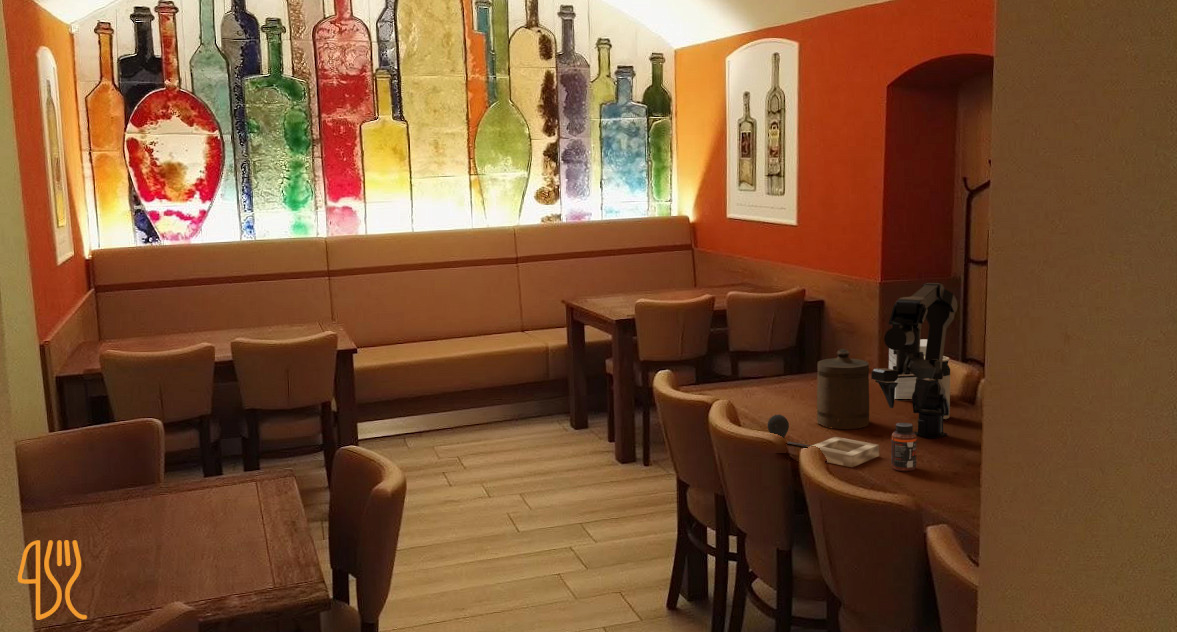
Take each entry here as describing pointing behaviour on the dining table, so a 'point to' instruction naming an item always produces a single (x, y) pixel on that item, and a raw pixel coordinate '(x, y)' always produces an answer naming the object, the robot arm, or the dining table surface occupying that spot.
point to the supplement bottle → (904, 448)
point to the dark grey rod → (798, 444)
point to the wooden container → (843, 392)
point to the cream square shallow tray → (847, 451)
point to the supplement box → (905, 384)
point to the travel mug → (946, 380)
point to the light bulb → (778, 425)
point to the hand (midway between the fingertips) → (906, 407)
